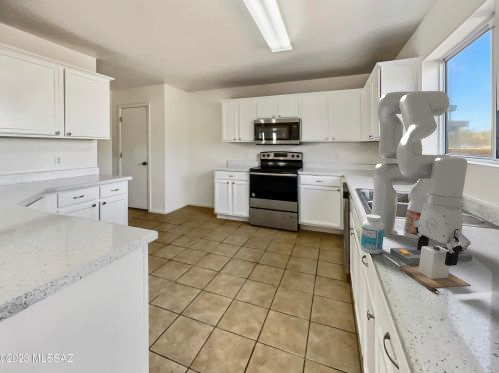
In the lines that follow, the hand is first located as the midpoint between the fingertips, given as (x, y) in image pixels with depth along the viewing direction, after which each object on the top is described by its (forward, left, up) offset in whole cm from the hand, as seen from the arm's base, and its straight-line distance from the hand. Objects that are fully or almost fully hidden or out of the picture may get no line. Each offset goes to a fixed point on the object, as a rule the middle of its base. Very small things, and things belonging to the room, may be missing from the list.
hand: (435, 257), depth 72 cm
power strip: (-11, +9, -7) cm, 16 cm away
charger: (0, 0, -6) cm, 6 cm away
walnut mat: (0, 0, -7) cm, 7 cm away
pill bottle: (-20, -7, -7) cm, 22 cm away
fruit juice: (-30, +20, -7) cm, 37 cm away
